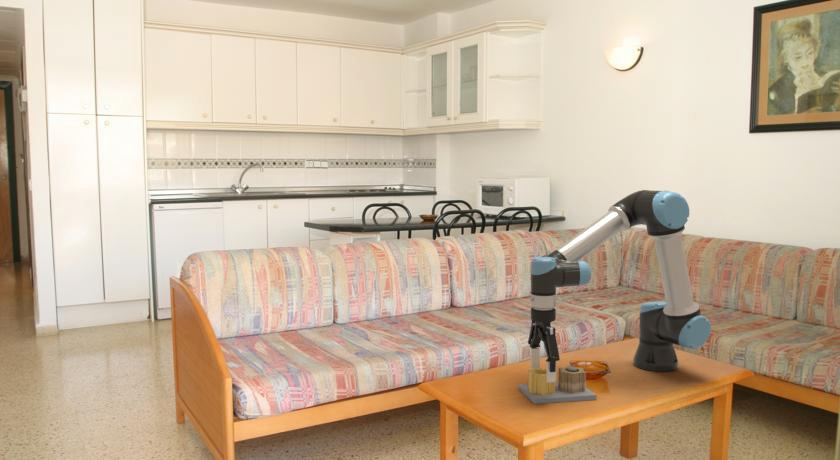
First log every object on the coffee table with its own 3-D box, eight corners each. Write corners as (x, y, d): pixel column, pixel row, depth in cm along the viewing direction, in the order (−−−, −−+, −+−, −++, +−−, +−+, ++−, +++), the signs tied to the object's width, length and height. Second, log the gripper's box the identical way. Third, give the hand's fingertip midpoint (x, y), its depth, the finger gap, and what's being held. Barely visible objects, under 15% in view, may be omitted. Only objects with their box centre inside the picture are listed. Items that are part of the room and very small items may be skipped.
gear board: (577, 385, 223) (577, 360, 222) (596, 399, 209) (597, 373, 208) (518, 389, 219) (519, 364, 218) (534, 403, 205) (534, 377, 204)
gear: (578, 383, 220) (579, 365, 219) (590, 392, 211) (590, 373, 211) (553, 385, 218) (554, 366, 217) (564, 393, 210) (564, 374, 209)
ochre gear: (549, 385, 218) (549, 367, 217) (559, 394, 209) (560, 375, 209) (523, 387, 216) (524, 368, 215) (533, 395, 208) (533, 376, 207)
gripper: (518, 300, 222) (518, 364, 224) (546, 317, 197) (546, 388, 200) (540, 299, 223) (539, 362, 225) (571, 315, 199) (570, 386, 201)
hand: (543, 375), depth 212 cm, fingers open, 13 cm apart
